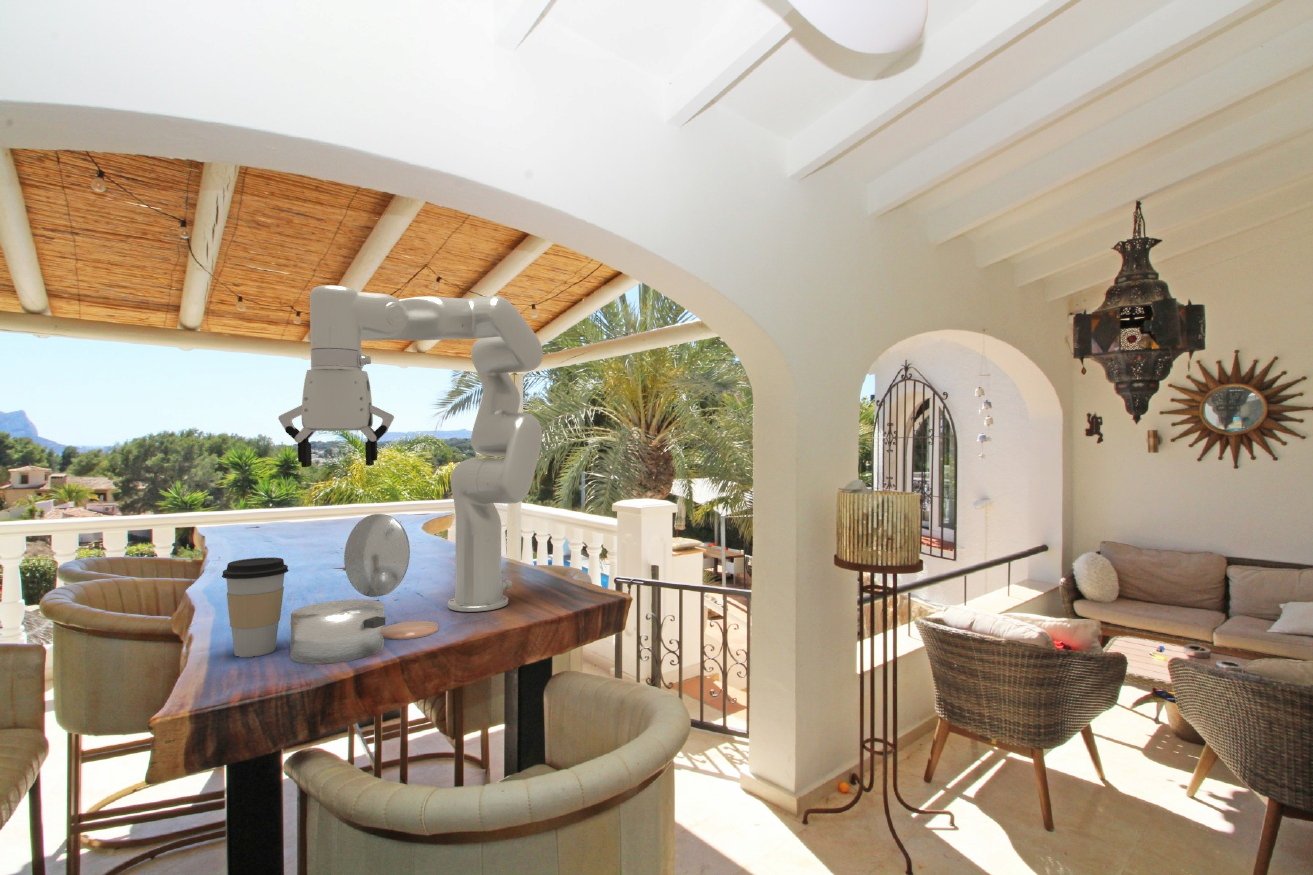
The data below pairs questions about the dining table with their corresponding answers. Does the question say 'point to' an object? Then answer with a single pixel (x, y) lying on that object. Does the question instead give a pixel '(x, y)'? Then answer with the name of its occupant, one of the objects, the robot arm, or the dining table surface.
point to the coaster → (410, 630)
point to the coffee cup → (255, 603)
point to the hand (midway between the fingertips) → (338, 466)
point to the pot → (337, 631)
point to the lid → (377, 555)
